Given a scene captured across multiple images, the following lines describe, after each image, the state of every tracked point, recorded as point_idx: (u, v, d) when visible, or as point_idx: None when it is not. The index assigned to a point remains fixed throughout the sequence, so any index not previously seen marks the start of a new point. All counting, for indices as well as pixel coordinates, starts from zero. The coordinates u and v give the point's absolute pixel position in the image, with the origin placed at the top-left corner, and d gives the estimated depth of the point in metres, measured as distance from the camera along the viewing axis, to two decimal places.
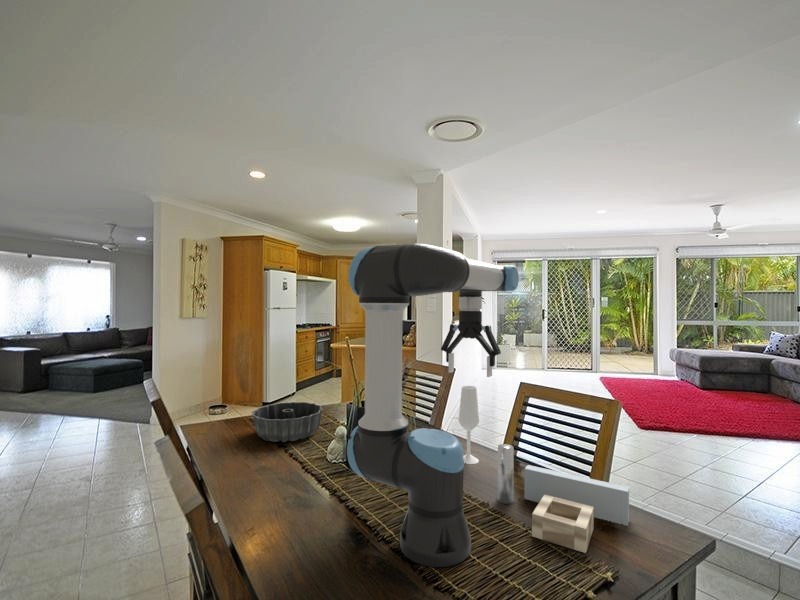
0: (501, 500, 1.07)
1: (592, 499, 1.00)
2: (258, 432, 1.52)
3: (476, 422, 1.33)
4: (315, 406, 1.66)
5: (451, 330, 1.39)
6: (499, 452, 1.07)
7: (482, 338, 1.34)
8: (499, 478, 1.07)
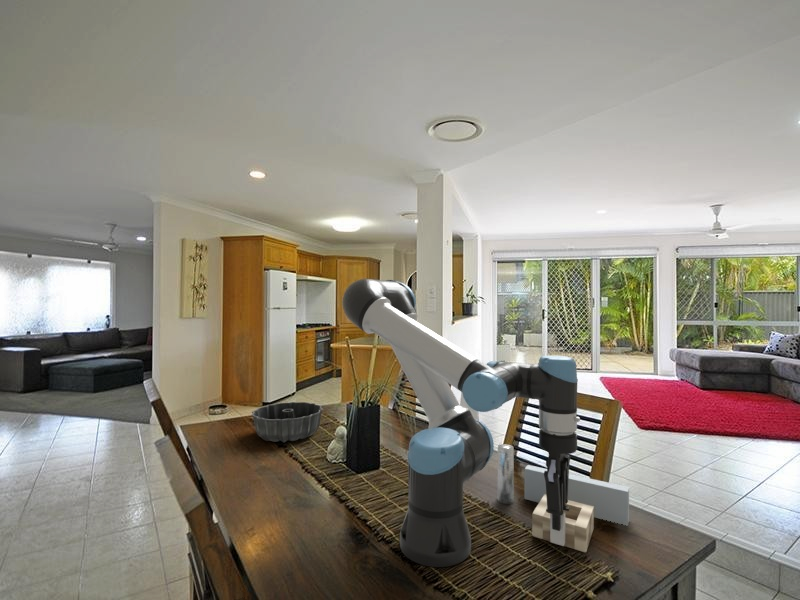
0: (501, 500, 1.07)
1: (592, 499, 1.00)
2: (258, 432, 1.52)
3: None
4: (315, 406, 1.66)
5: None
6: (499, 452, 1.07)
7: None
8: (499, 478, 1.07)
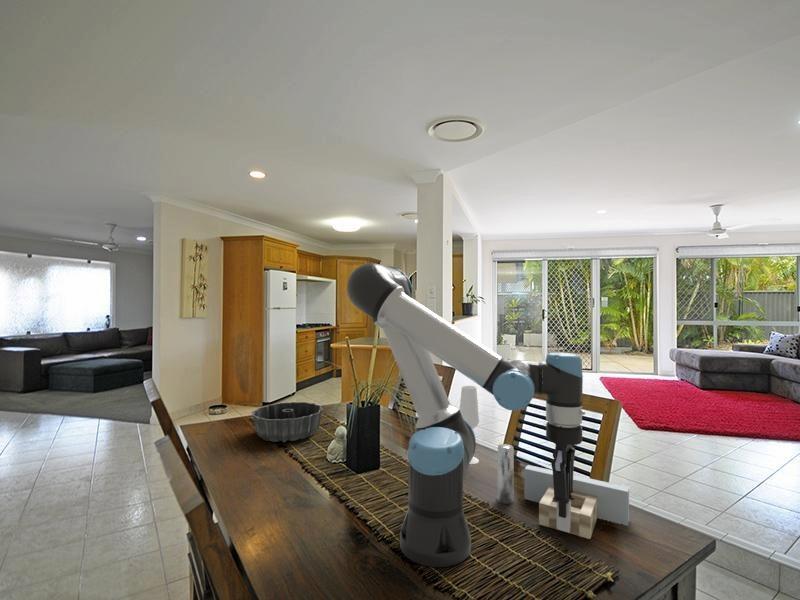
0: (501, 500, 1.07)
1: None
2: (258, 432, 1.52)
3: (476, 422, 1.33)
4: (315, 406, 1.66)
5: None
6: (499, 452, 1.07)
7: None
8: (499, 478, 1.07)
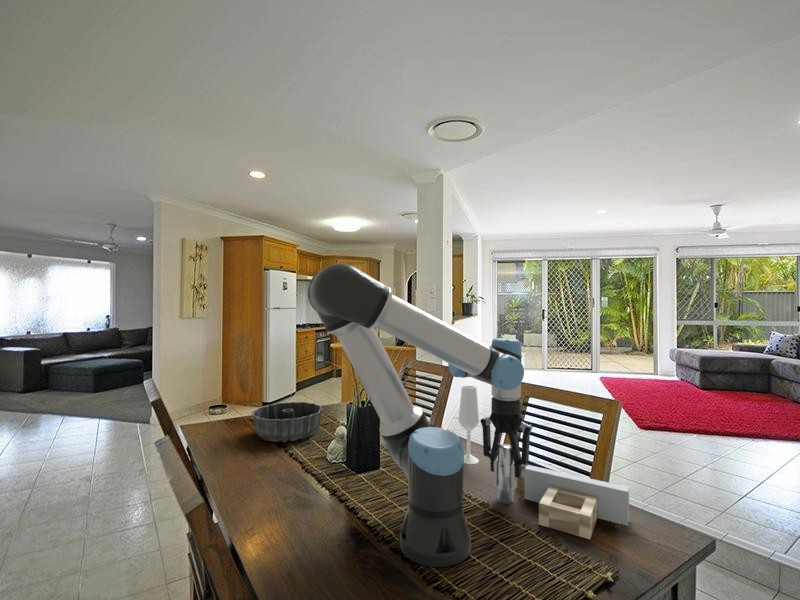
0: (501, 500, 1.07)
1: None
2: (258, 432, 1.51)
3: (476, 422, 1.33)
4: (315, 406, 1.66)
5: (485, 426, 1.10)
6: (499, 452, 1.07)
7: (515, 438, 1.07)
8: (499, 478, 1.07)
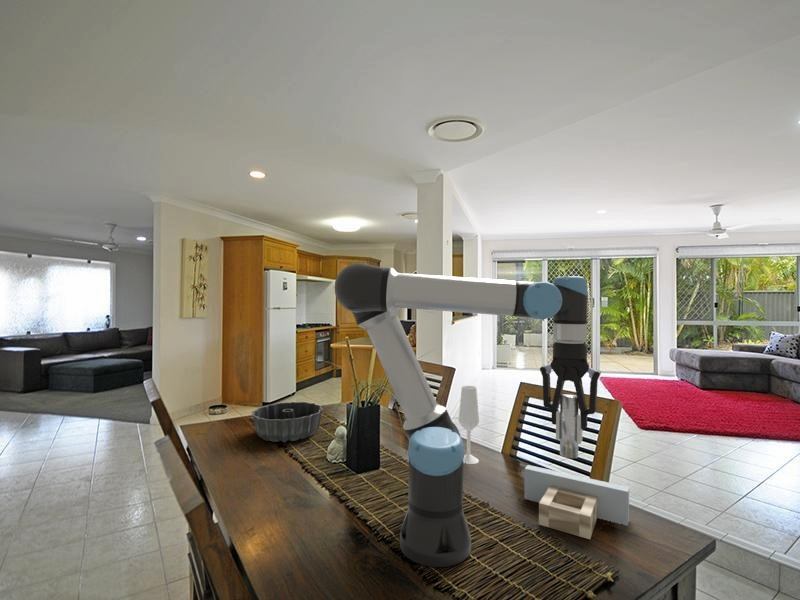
0: (566, 454, 0.96)
1: None
2: (258, 432, 1.51)
3: (476, 422, 1.33)
4: (315, 406, 1.66)
5: (545, 375, 1.00)
6: (562, 402, 0.97)
7: (581, 386, 0.96)
8: (563, 430, 0.97)
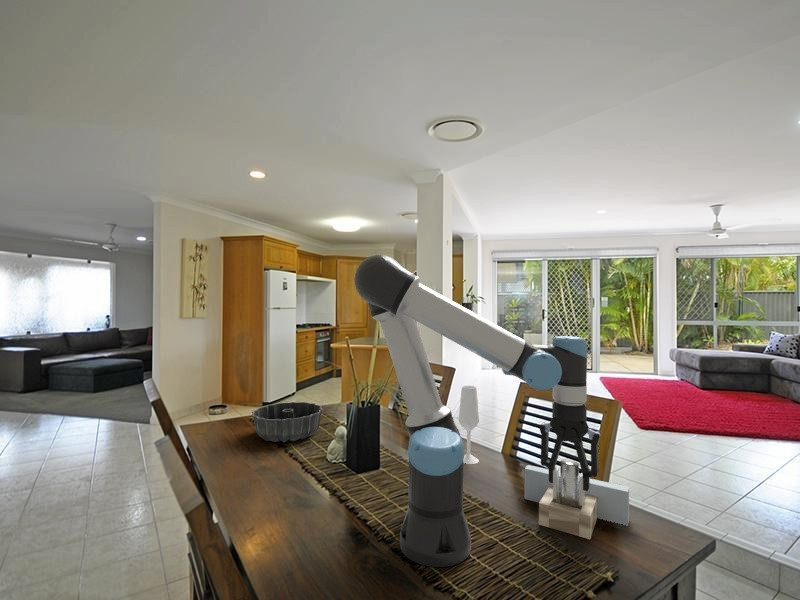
0: None
1: None
2: (258, 432, 1.51)
3: (476, 422, 1.33)
4: (315, 406, 1.67)
5: (544, 433, 1.00)
6: (563, 469, 0.97)
7: (582, 447, 0.96)
8: (562, 498, 0.97)
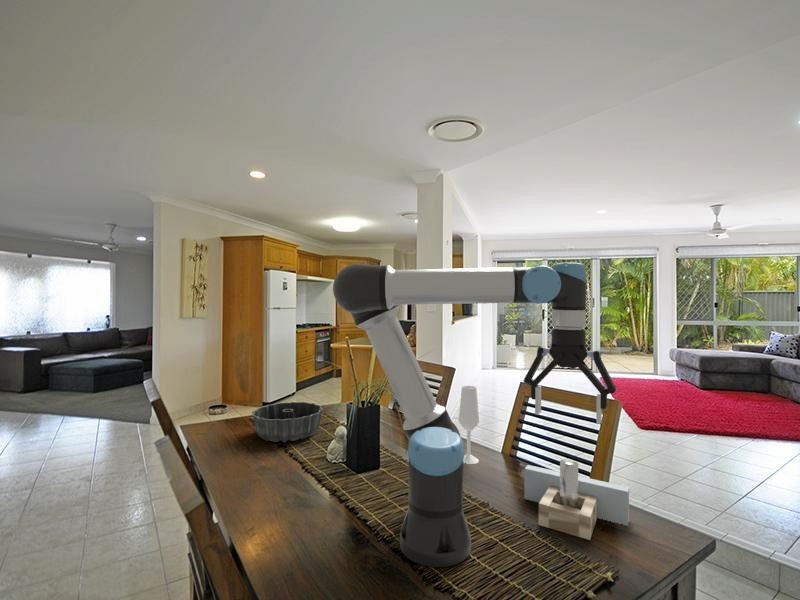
0: None
1: None
2: (258, 432, 1.51)
3: (476, 422, 1.33)
4: (315, 406, 1.67)
5: (540, 355, 1.00)
6: (562, 469, 0.97)
7: (587, 368, 0.95)
8: (562, 498, 0.97)
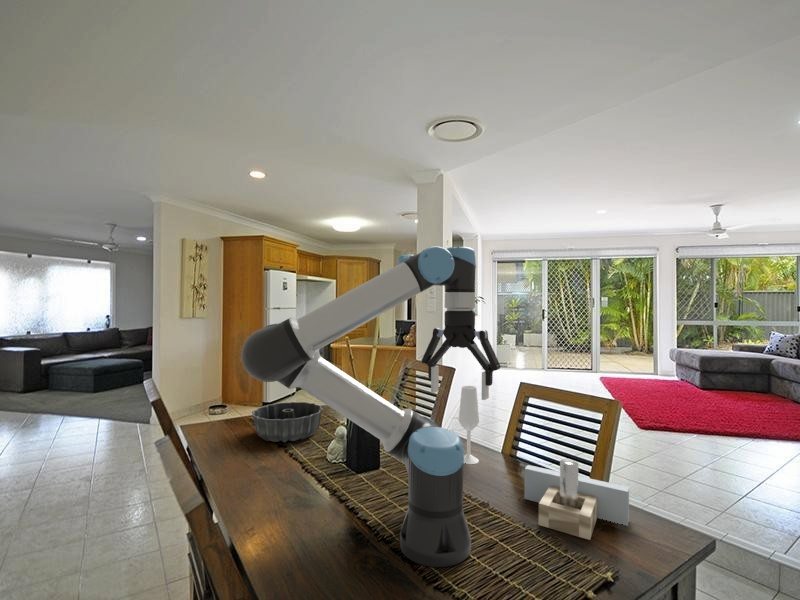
0: None
1: None
2: (258, 432, 1.51)
3: (476, 422, 1.33)
4: (315, 406, 1.67)
5: (435, 336, 1.05)
6: (562, 469, 0.97)
7: (475, 347, 1.00)
8: (562, 498, 0.97)
